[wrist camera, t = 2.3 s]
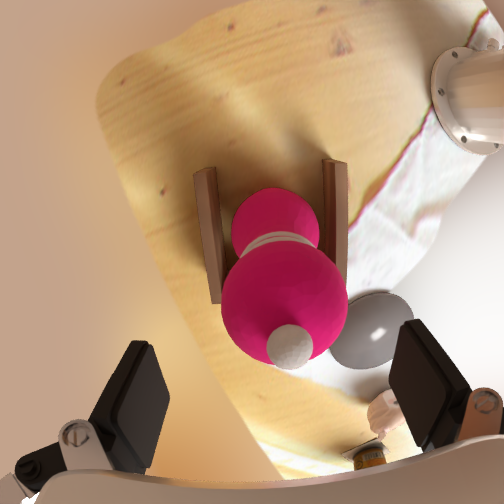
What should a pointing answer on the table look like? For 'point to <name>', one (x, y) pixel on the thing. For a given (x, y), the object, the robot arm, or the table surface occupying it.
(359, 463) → the condiment
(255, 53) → the table surface
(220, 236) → the cradle
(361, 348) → the coaster
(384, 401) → the beige plush toy
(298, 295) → the pepper mill
